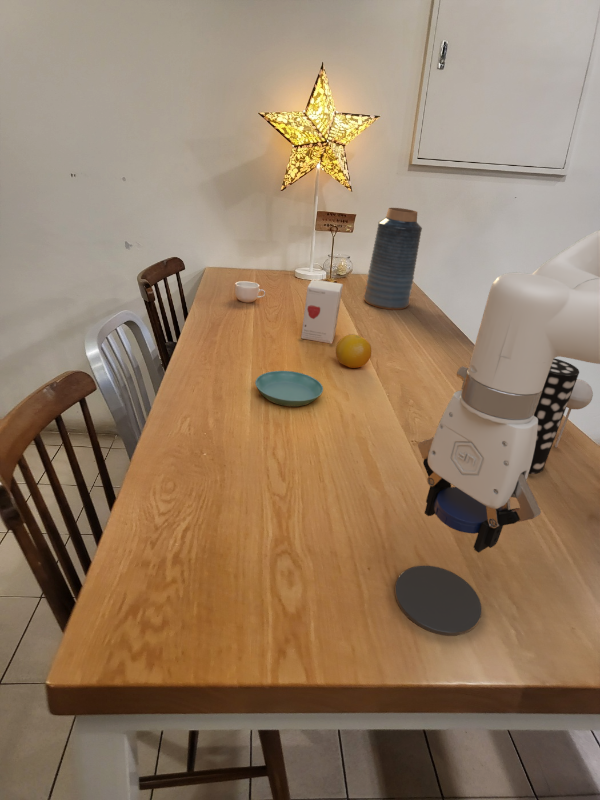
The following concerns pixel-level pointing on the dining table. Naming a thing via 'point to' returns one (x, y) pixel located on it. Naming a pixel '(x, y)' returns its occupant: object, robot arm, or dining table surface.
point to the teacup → (247, 291)
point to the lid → (459, 510)
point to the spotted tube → (552, 409)
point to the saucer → (289, 388)
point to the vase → (393, 260)
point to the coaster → (438, 600)
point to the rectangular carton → (321, 311)
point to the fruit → (353, 351)
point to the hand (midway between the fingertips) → (458, 527)
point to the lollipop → (577, 400)
